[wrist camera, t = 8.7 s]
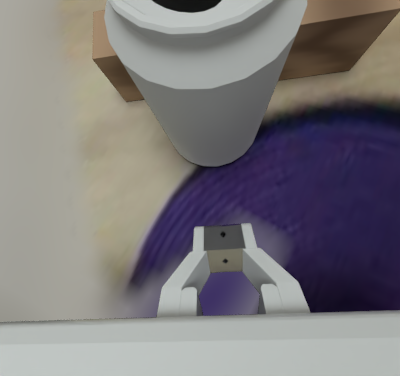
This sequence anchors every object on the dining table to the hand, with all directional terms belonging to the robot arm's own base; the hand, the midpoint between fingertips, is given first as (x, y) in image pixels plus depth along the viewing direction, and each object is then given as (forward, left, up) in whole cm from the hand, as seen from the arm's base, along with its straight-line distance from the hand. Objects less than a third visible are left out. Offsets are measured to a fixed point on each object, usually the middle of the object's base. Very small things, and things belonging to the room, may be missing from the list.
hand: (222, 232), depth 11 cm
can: (0, -9, -5) cm, 10 cm away
